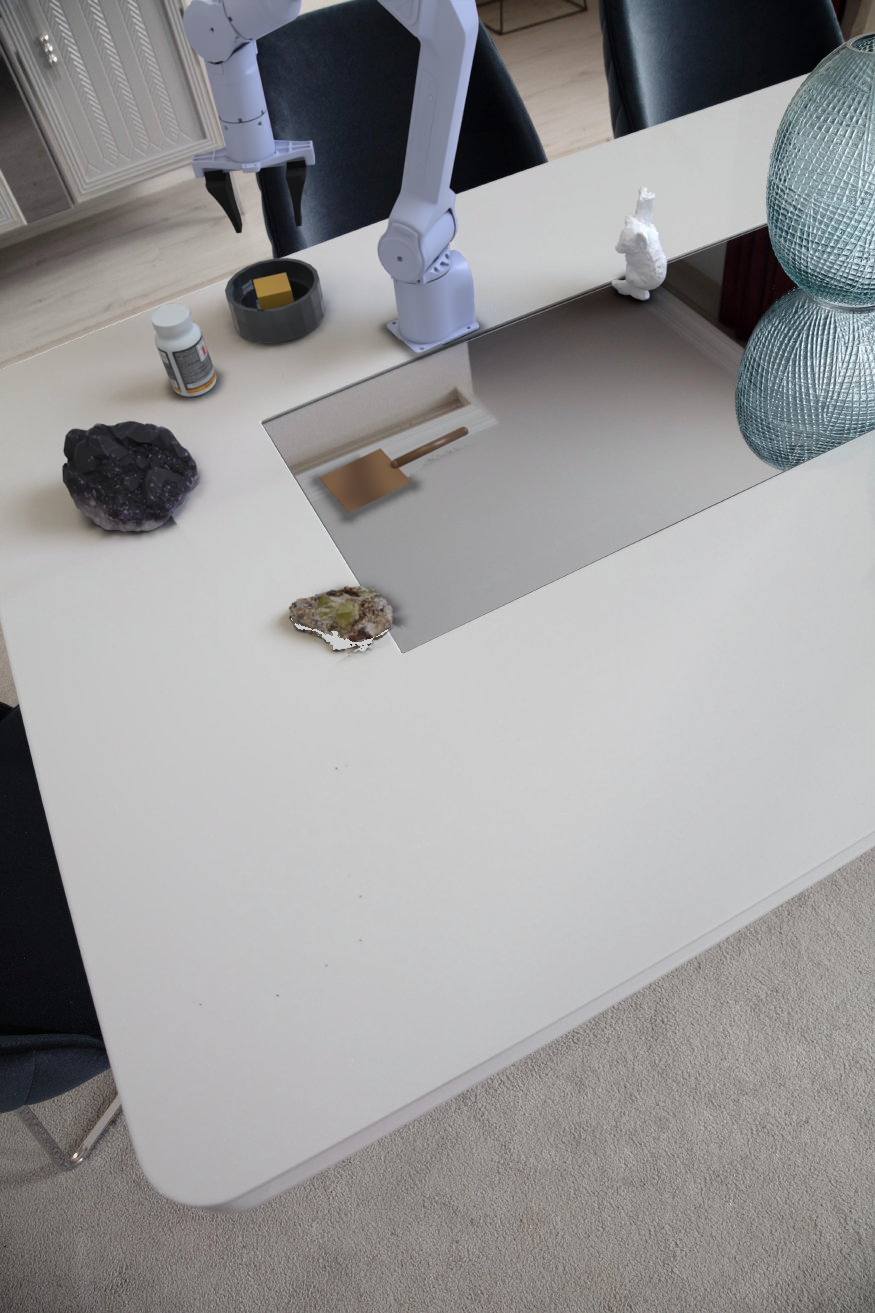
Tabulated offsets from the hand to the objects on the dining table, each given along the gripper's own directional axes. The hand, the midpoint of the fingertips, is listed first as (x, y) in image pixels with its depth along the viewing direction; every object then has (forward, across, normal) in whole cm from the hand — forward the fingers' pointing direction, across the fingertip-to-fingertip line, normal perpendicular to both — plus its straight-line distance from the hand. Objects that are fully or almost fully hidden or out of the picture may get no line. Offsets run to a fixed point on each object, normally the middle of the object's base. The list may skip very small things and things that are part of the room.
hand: (269, 225), depth 118 cm
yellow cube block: (+10, -1, -4) cm, 11 cm away
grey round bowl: (+10, -1, -4) cm, 11 cm away
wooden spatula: (+10, +14, -36) cm, 40 cm away
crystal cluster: (+11, -15, -36) cm, 41 cm away
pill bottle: (+11, -11, -17) cm, 23 cm away
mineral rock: (+11, +8, -58) cm, 59 cm away
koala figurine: (+11, +46, -7) cm, 48 cm away
